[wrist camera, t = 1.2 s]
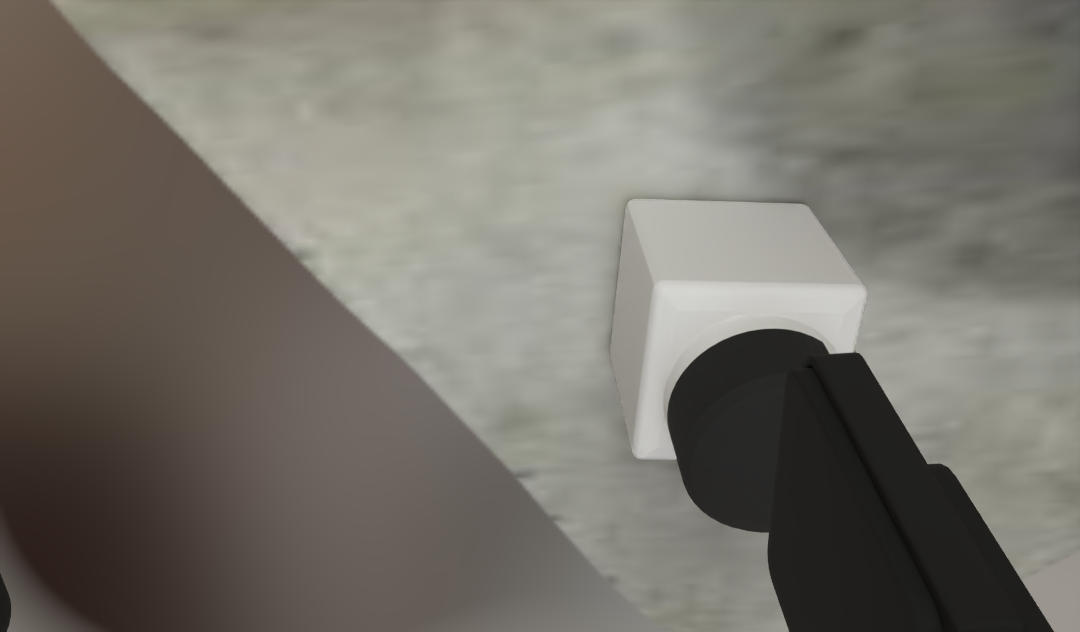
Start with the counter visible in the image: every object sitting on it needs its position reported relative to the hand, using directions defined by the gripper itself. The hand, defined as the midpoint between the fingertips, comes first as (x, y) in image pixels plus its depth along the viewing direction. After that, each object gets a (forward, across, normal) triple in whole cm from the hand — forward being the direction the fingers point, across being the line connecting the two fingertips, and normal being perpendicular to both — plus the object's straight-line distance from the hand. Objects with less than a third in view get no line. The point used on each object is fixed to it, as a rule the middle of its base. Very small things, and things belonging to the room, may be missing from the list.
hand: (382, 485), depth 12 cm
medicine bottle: (+27, -10, +12) cm, 31 cm away
